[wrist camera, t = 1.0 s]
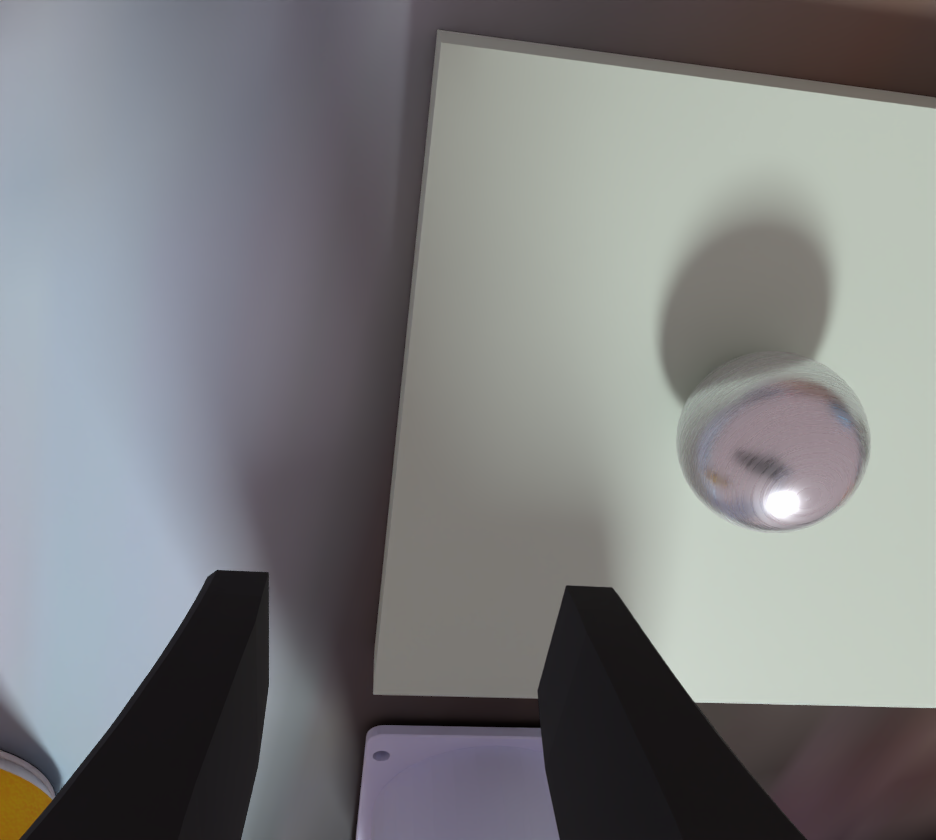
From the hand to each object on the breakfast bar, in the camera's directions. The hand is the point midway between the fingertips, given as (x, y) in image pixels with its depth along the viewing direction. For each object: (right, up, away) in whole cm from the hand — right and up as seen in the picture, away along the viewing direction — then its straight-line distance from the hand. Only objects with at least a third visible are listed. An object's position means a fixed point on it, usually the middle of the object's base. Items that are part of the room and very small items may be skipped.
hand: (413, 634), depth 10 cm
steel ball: (+7, +2, +5) cm, 9 cm away
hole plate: (+11, +2, +10) cm, 15 cm away
